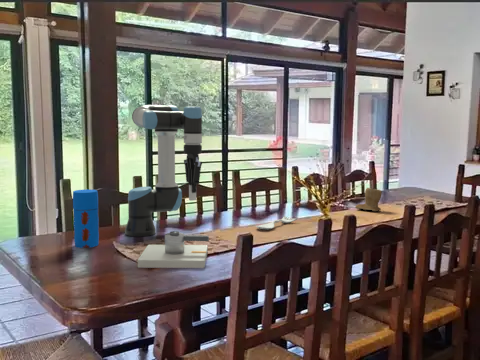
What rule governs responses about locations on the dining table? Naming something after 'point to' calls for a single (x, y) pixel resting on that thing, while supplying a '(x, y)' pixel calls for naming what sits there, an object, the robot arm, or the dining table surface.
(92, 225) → the thermos
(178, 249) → the capstan
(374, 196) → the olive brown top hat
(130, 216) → the robot arm
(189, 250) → the stand
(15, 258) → the dining table surface
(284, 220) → the spoon
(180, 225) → the dining table surface
